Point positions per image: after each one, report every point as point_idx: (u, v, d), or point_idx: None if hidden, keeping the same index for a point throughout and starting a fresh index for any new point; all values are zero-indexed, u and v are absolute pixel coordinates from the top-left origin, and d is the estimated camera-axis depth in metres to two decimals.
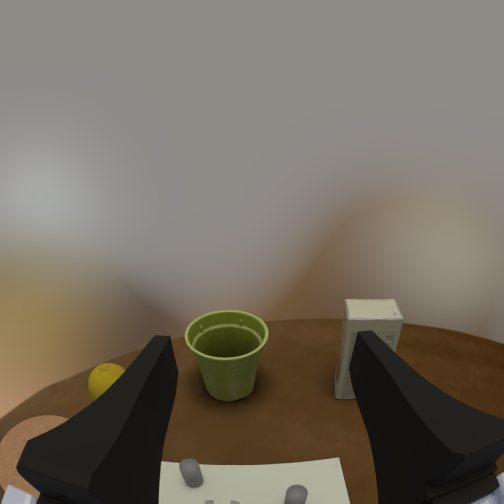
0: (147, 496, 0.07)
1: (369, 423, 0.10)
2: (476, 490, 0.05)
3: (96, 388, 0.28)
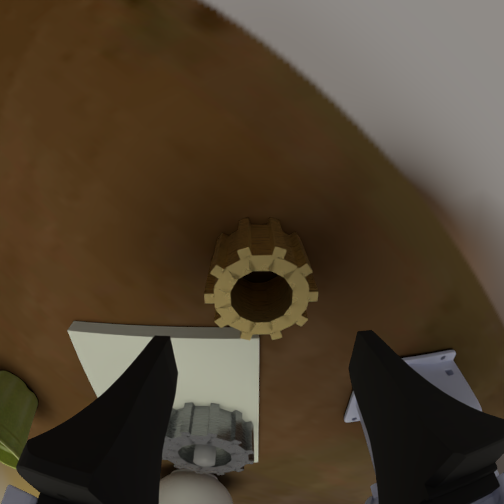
0: (147, 496, 0.07)
1: (369, 423, 0.10)
2: (476, 490, 0.05)
3: None
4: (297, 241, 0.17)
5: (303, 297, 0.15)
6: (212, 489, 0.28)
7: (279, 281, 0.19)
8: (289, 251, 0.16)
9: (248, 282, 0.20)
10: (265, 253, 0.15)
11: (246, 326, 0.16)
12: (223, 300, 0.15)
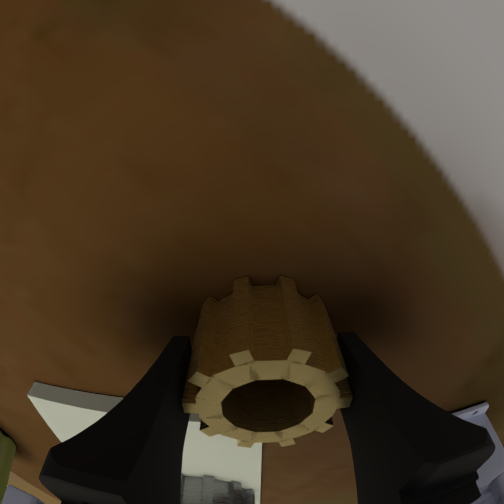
0: (171, 499, 0.07)
1: (350, 426, 0.10)
2: (455, 499, 0.05)
3: None
4: (322, 315, 0.11)
5: (330, 404, 0.09)
6: None
7: None
8: (312, 339, 0.10)
9: None
10: (276, 356, 0.09)
11: (246, 435, 0.10)
12: (211, 410, 0.09)
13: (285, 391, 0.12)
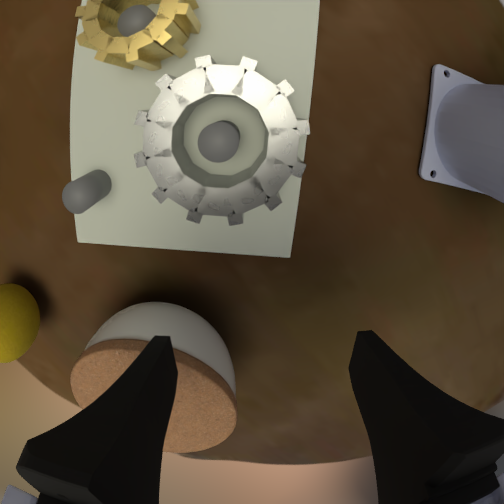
0: (147, 496, 0.07)
1: (369, 423, 0.10)
2: (476, 490, 0.05)
3: (12, 352, 0.17)
4: None
5: (171, 8, 0.10)
6: (203, 323, 0.19)
7: None
8: None
9: None
10: None
11: (104, 41, 0.11)
12: (91, 12, 0.10)
13: None
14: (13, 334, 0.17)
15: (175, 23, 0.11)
